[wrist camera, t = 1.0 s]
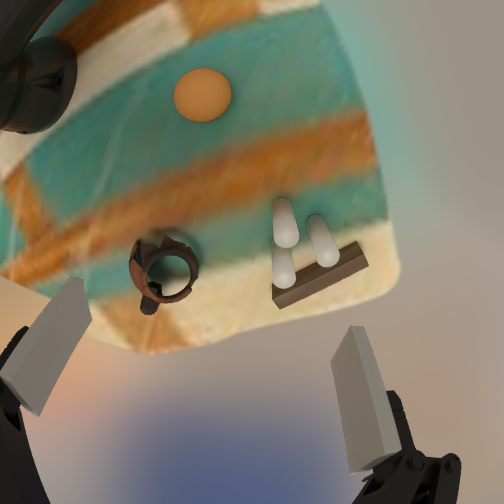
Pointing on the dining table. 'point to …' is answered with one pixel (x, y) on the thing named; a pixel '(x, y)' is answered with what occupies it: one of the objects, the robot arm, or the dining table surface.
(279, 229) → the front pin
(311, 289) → the back wall
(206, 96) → the ball
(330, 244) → the pin
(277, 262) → the pin
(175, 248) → the pottery mug
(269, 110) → the dining table surface
